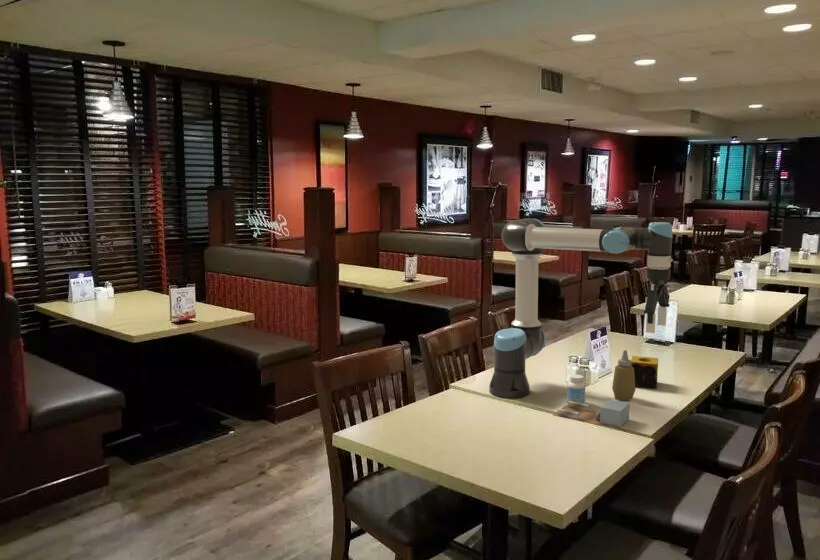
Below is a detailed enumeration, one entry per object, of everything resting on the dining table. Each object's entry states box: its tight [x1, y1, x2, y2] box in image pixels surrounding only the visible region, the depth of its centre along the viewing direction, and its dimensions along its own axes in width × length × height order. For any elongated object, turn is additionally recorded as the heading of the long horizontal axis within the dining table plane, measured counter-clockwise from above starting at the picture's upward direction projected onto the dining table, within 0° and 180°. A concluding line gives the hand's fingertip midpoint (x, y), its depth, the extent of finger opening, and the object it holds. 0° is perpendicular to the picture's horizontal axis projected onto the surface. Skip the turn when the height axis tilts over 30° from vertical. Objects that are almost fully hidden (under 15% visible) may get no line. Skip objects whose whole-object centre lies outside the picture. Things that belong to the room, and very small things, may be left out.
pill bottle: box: [566, 374, 586, 404], centre depth 228 cm, size 6×6×11 cm
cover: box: [599, 399, 630, 428], centre depth 211 cm, size 6×9×5 cm
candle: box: [630, 355, 659, 390], centre depth 253 cm, size 10×10×10 cm
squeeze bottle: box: [611, 349, 636, 402], centre depth 236 cm, size 8×8×18 cm
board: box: [552, 401, 620, 430], centre depth 216 cm, size 22×12×4 cm, turn 54°
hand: (656, 328), depth 225 cm, fingers open, 13 cm apart
